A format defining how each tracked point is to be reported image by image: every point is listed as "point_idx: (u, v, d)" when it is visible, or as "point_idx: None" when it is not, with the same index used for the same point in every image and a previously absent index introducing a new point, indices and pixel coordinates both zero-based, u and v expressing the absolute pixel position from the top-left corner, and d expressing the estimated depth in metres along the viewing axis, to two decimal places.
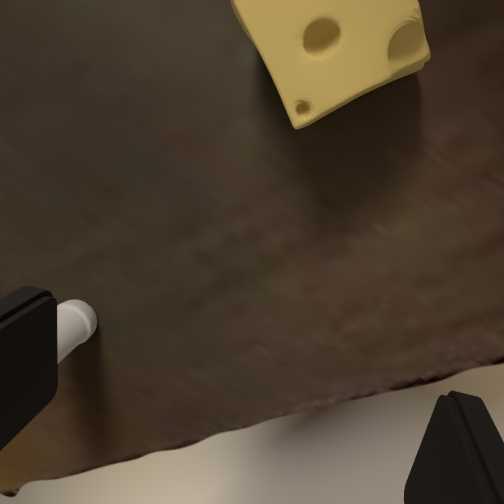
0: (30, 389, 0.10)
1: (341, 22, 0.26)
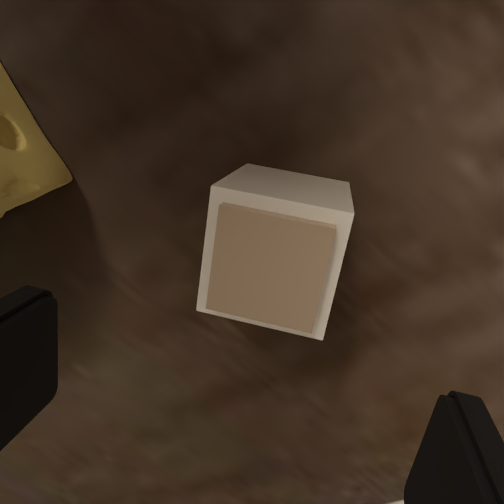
0: (30, 389, 0.10)
1: None
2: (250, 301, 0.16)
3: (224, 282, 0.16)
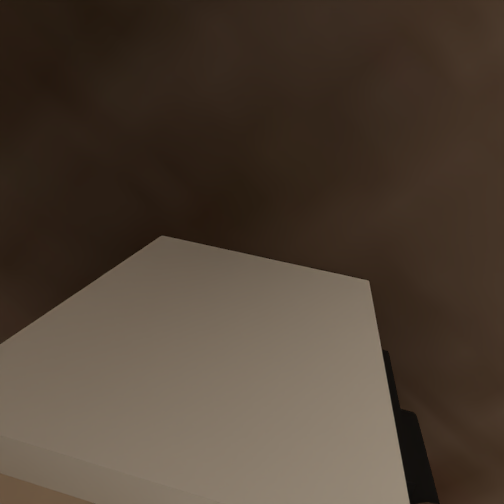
0: None
1: None
2: None
3: None
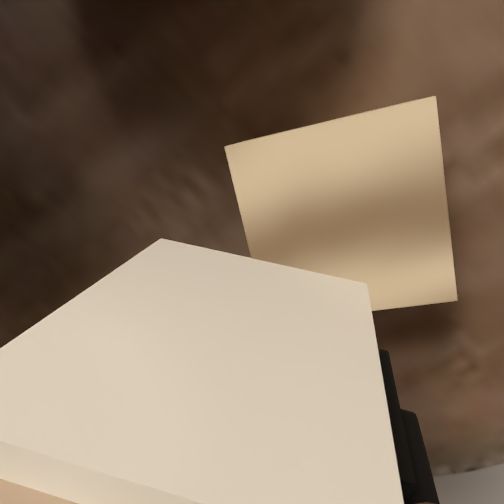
0: None
1: None
2: None
3: None
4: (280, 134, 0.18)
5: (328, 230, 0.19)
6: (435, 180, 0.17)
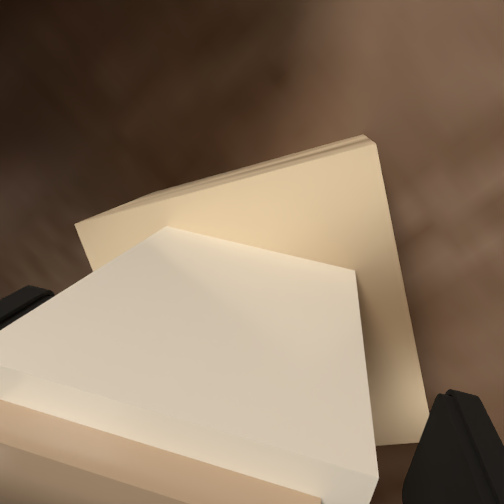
0: None
1: None
2: None
3: None
4: (150, 206, 0.12)
5: None
6: (386, 271, 0.11)
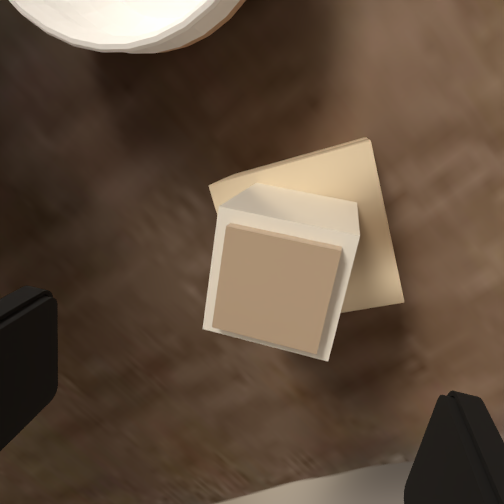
0: (30, 389, 0.10)
1: None
2: (256, 321, 0.17)
3: (230, 301, 0.17)
4: (252, 174, 0.23)
5: None
6: (377, 206, 0.22)
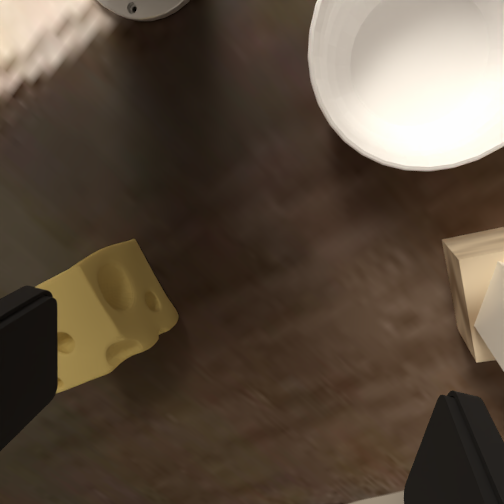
0: (30, 389, 0.10)
1: (73, 337, 0.36)
2: None
3: None
4: (496, 253, 0.31)
5: None
6: None
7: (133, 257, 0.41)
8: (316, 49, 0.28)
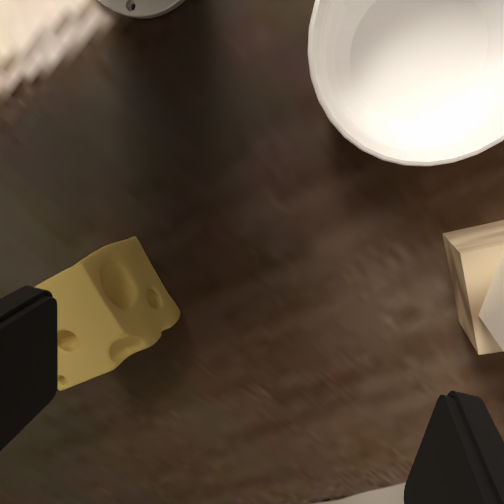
0: (30, 389, 0.10)
1: (76, 334, 0.37)
2: None
3: None
4: (497, 246, 0.31)
5: None
6: None
7: (135, 254, 0.41)
8: (316, 45, 0.28)
